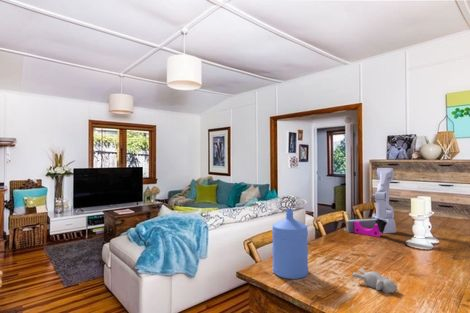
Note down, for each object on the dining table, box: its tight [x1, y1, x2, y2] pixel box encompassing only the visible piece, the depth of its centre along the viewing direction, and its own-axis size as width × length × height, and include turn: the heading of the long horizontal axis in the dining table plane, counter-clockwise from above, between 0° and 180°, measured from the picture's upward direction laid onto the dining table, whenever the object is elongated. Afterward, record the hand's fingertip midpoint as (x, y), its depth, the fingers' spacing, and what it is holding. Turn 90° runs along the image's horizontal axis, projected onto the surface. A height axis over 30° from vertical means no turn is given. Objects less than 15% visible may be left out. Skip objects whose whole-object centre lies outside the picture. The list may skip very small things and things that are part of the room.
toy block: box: [354, 221, 382, 238], centre depth 179 cm, size 15×6×8 cm, turn 50°
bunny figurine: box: [352, 268, 398, 294], centre depth 106 cm, size 10×5×15 cm
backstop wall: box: [343, 218, 377, 233], centre depth 188 cm, size 22×6×8 cm, turn 100°
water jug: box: [271, 208, 309, 280], centre depth 120 cm, size 16×16×28 cm
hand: (381, 231), depth 170 cm, fingers closed
